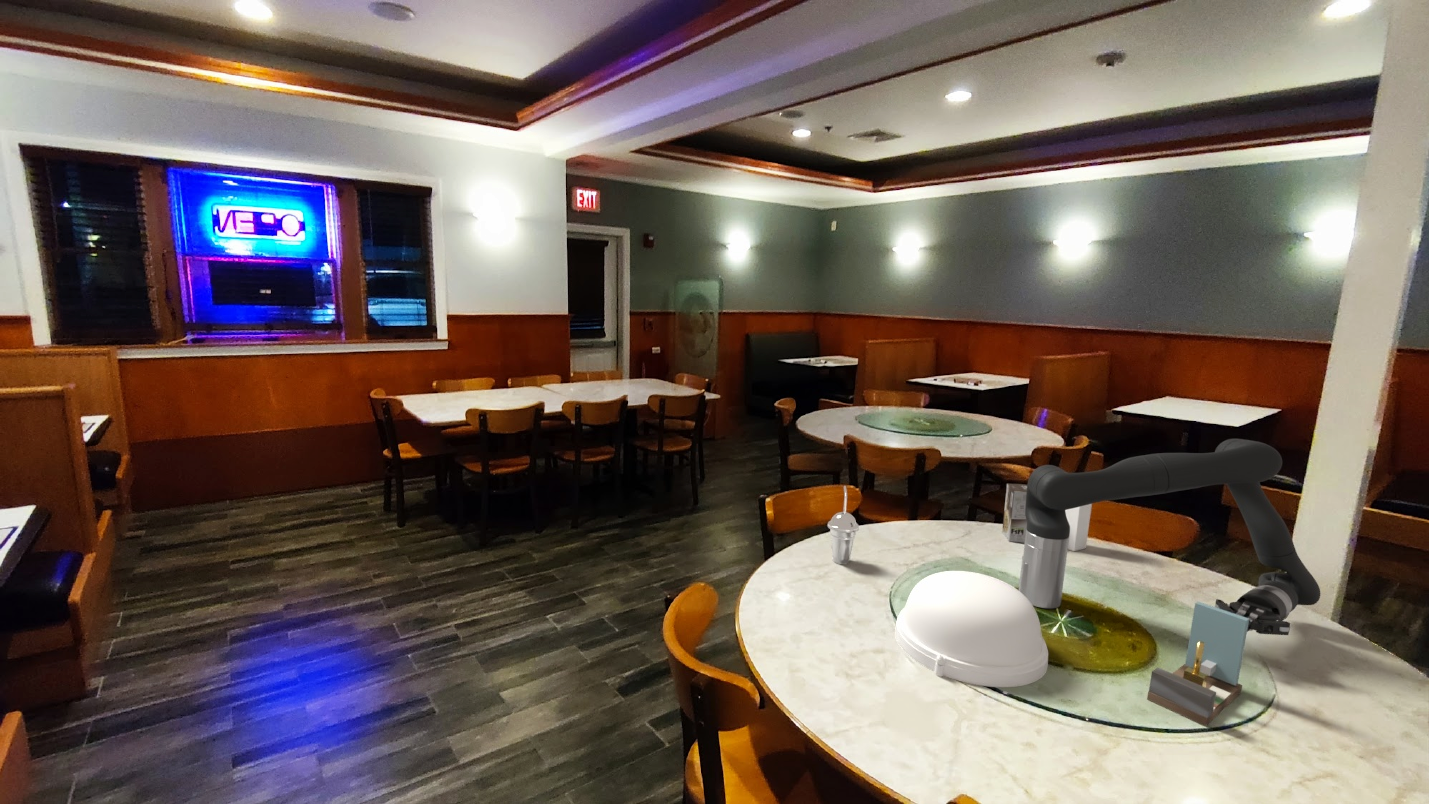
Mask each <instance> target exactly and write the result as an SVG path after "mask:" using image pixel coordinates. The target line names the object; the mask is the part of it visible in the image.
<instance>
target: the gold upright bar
mask: <svg viewBox="0 0 1429 804" xmlns="http://www.w3.org/2000/svg"><path fill="white" fill-rule="evenodd" d="M1203 649H1204V642H1202V641H1198V642H1197V649H1196V655H1195V661H1194V667H1193V669H1192V668H1190V667H1188V668H1187V669H1185V670H1184V676H1183V678H1184V679H1186V680H1189V681H1191V682H1193V683H1196V684H1198V685H1200V686H1203V687H1206V683H1207V677H1208V675H1207V674H1204V673H1202V672H1200V667H1201V661H1202V655H1203Z"/></svg>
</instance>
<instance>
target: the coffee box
mask: <svg viewBox="0 0 1429 804" xmlns="http://www.w3.org/2000/svg"><path fill="white" fill-rule="evenodd" d="M1005 491H1006V492H1005V502H1004V511H1003V520H1002V531H1001V532H1002V533H1003V535H1004V536H1005V538H1006V539H1007V540H1008V542H1013V543H1014V542H1015V543H1022V544H1025V536H1026V527H1027V521H1026V516H1025V506H1026V493H1027V484H1022V483H1006V490H1005Z"/></svg>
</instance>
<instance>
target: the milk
mask: <svg viewBox="0 0 1429 804" xmlns="http://www.w3.org/2000/svg"><path fill="white" fill-rule="evenodd" d="M1092 505H1093V504H1088V505H1084V506H1080V507H1076V508H1072V509H1067V510H1065V512H1066V517H1067V520H1068V522H1069V525H1070V534H1069V543H1068V550H1069V551H1072V552H1077V551H1082V550H1084V549H1086V548H1087V542H1088V534H1089V527H1090V520H1091V515H1092V514H1091V513H1092Z"/></svg>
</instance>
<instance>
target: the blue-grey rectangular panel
mask: <svg viewBox="0 0 1429 804" xmlns="http://www.w3.org/2000/svg"><path fill="white" fill-rule="evenodd" d="M1193 608H1194V609H1193V615H1192V619H1191V627H1190V632H1189V633H1190V634H1189V637H1188V640H1189V641H1188V646H1187V652H1186V657H1185V663H1184V664H1185V665H1186V666H1188V667H1191V668H1193V667H1194V661H1195V655H1196V649H1197V642H1198V641H1202V642H1204V649H1203V655H1202V661H1201V667H1200V672H1202V673H1204V674H1207V675H1208V676H1213V677H1215V678H1218V679H1220V680H1223V681H1225V682H1227V683H1230V684H1232V685H1236V684H1237V683H1238V684H1239V678H1240V673H1241V668H1242V661H1243V656H1244V651H1245V645H1246V644H1245V643H1246V638H1247V633H1248V632H1247V629H1248V623H1249V618H1246V617H1243V616H1240V615H1237V614H1234V613H1231V612H1228V611H1225V610H1222V609H1219V608H1216V607H1215V606H1212V605H1209V604H1206V603H1205V602H1201V601H1197V602H1195V603H1194V607H1193Z"/></svg>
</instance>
